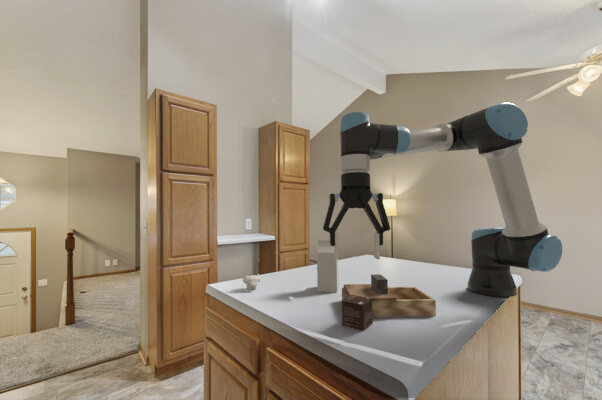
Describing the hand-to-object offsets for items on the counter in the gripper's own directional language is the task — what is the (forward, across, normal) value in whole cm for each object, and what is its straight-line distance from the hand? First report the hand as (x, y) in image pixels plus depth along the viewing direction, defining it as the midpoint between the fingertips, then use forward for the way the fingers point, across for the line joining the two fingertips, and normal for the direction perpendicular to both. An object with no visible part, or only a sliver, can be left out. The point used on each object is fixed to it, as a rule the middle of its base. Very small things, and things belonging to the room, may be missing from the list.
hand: (356, 258), depth 75 cm
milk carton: (+18, +4, -33) cm, 38 cm away
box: (+18, 0, 0) cm, 18 cm away
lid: (+13, -6, -13) cm, 19 cm away
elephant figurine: (+18, +33, -37) cm, 53 cm away
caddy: (+18, -11, -12) cm, 24 cm away
